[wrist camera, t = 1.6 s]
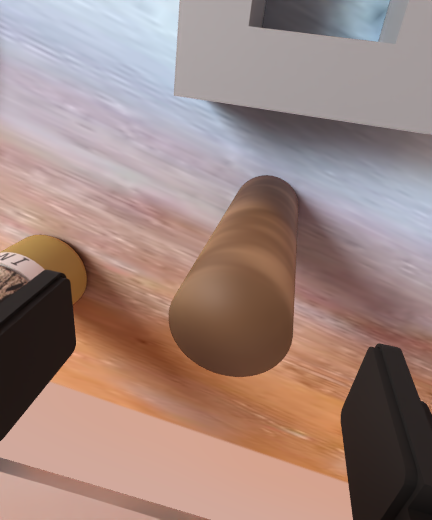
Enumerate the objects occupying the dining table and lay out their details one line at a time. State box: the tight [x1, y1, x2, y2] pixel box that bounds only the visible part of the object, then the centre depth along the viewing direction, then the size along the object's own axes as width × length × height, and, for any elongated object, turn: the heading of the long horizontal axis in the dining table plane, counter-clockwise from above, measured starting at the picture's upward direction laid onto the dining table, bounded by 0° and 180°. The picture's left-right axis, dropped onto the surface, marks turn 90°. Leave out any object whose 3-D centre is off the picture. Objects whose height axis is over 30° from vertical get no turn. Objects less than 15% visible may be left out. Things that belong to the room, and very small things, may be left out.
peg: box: [169, 175, 298, 377], centre depth 19 cm, size 4×4×14 cm
